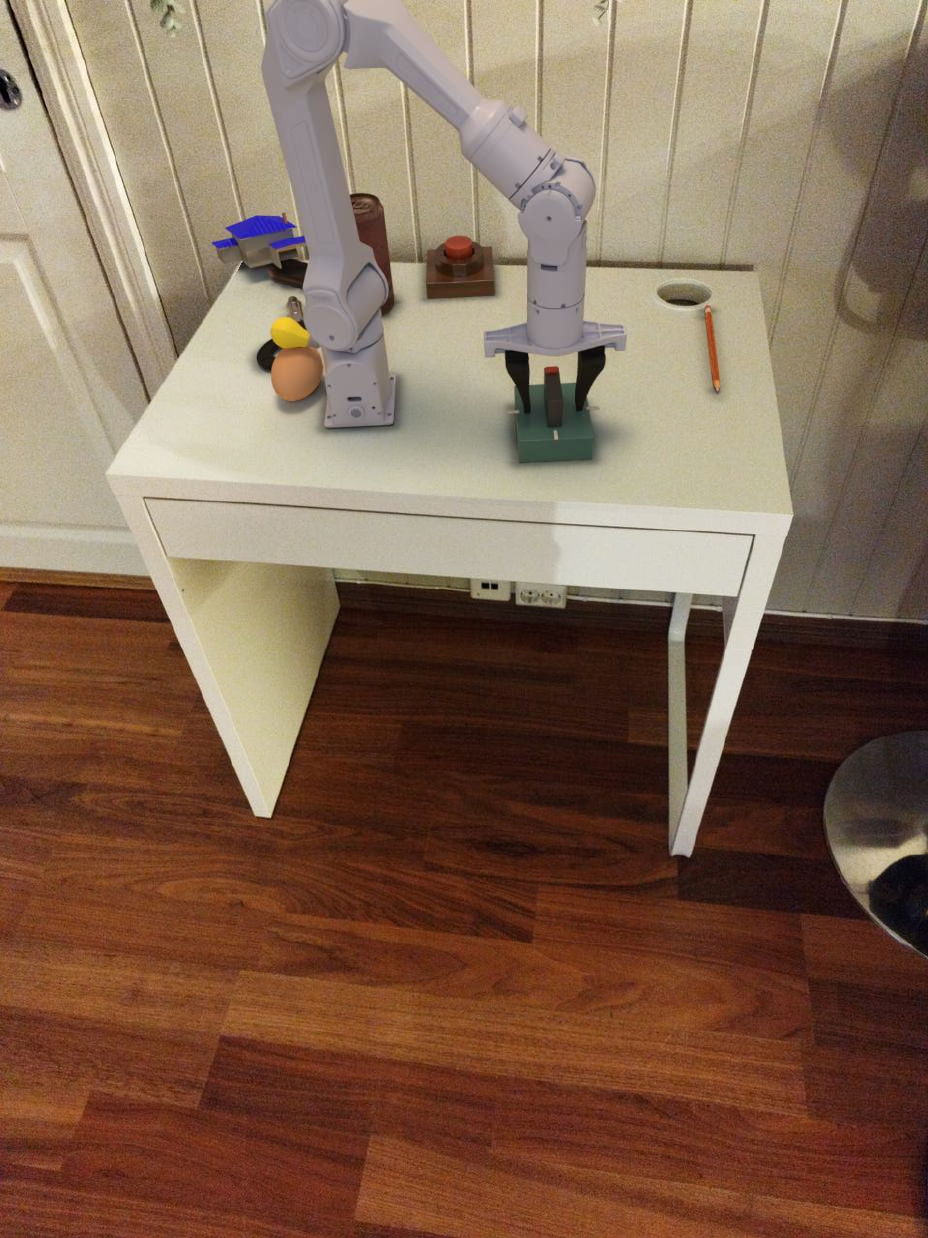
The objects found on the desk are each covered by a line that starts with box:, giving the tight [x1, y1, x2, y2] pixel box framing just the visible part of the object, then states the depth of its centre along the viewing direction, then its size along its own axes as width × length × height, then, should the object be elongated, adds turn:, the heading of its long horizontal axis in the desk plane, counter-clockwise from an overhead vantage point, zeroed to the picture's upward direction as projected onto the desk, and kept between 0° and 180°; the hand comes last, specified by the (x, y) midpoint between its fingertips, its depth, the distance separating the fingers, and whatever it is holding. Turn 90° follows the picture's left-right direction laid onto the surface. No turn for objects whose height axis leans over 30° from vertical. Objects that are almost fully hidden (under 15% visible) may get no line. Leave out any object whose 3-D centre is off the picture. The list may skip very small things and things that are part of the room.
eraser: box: [268, 258, 308, 289], centre depth 129 cm, size 11×4×2 cm, turn 61°
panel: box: [506, 382, 600, 463], centre depth 105 cm, size 10×10×3 cm
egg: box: [270, 346, 324, 402], centre depth 111 cm, size 6×6×8 cm
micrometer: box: [256, 295, 307, 370], centre depth 120 cm, size 15×7×2 cm, turn 14°
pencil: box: [704, 304, 721, 392], centre depth 114 cm, size 1×18×1 cm, turn 174°
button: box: [444, 235, 473, 260], centre depth 125 cm, size 4×4×2 cm
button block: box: [425, 240, 496, 299], centre depth 127 cm, size 9×9×4 cm
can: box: [349, 192, 395, 316], centre depth 120 cm, size 6×6×14 cm
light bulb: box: [270, 316, 321, 350], centre depth 108 cm, size 3×6×4 cm
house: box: [211, 212, 309, 269], centre depth 130 cm, size 11×14×6 cm
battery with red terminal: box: [543, 365, 563, 427], centre depth 102 cm, size 6×2×4 cm, turn 1°
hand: (552, 406), depth 103 cm, fingers open, 5 cm apart
